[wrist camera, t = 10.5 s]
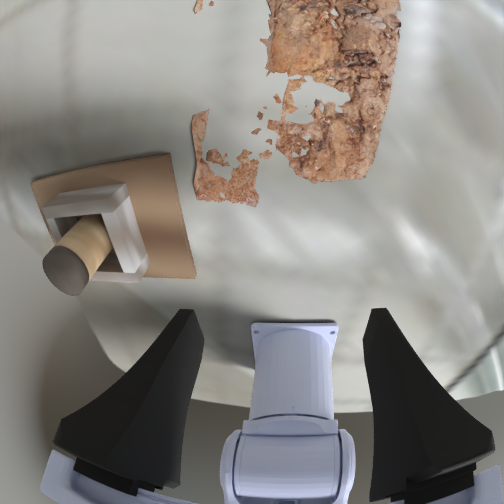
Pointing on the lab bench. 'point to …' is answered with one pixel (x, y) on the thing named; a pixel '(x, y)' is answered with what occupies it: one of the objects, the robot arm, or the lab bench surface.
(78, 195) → the holder board
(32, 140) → the lab bench surface
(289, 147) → the bark
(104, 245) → the wood peg
